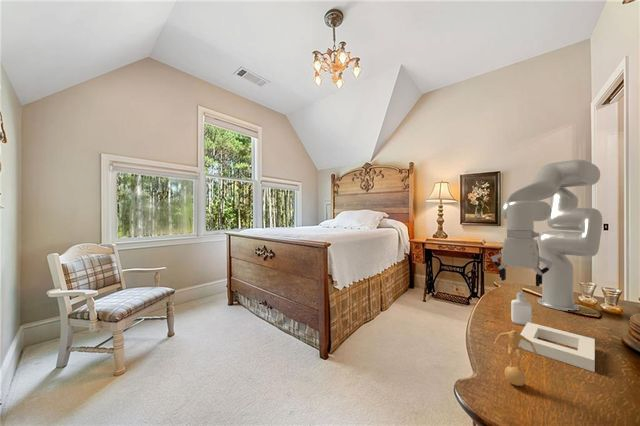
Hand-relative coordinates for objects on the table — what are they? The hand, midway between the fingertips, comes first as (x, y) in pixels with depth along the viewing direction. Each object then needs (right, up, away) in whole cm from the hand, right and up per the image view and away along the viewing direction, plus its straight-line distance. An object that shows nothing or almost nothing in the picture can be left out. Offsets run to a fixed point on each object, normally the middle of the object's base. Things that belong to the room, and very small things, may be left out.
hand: (520, 282), depth 87 cm
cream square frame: (-2, -15, -16) cm, 22 cm away
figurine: (-25, -15, -29) cm, 42 cm away
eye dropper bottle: (+1, -15, 0) cm, 15 cm away
